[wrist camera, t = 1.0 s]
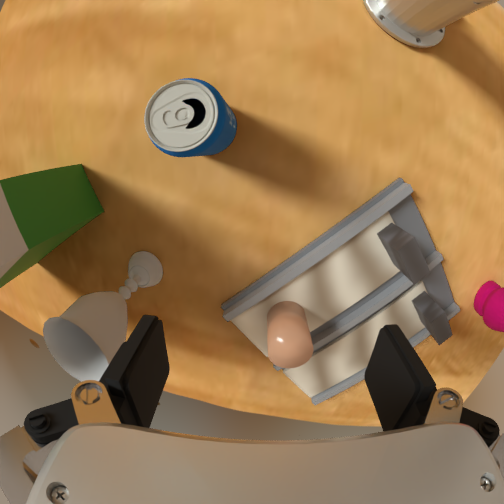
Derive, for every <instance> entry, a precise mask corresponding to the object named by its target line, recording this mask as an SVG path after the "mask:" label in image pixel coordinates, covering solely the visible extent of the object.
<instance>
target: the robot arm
mask: <svg viewBox="0 0 504 504" xmlns="http://www.w3.org/2000/svg"><path fill="white" fill-rule="evenodd" d="M363 1H364V4H365V7H366V9H367V11H368V12H369V14H370V15H371V17H372V18H373V19H374V20H375V22H376V23H377V24H378V25H379V26H380V27H381V28H382V29H383V30H384V31H386V32H387V33H388V34H389V35H391V36H392V37H394V38H395V39H397V40H399V41H400V42H403V43H405V44H407V45H410V46H413V47H417V48H429V47H432V46H435V45H436V44H438V43H439V42H440V41H441V40H442V39H443V37H444V34H445V26H447V25H449V24H451V23H453V22H455V21H457V20H459V19H461V18H463V17H465V16H467V15H469V14H471V13H473V12H475V11H477V10H479V9H481V8H483V7H486V6H488V5H490V4H492V3H495V2H497V1H499V0H363ZM168 375H169V362H168V356H167V350H166V344H165V338H164V331H163V324H162V321H161V320H158V317H157V316H151V315H143V317H142V318H141V320H140V321H139V323H138V324H137V326H136V328H135V329H134V331H133V332H132V334H131V335H130V337H129V339H128V340H127V342H123V343H122V345H121V346H120V348H119V349H118V351H117V352H116V354H115V356H114V357H113V359H112V360H111V362H110V364H109V365H108V367H107V369H106V370H105V372H104V373H103V375H102V377H101V378H100V380H99V381H96V380H85V381H82V382H80V383H78V384H77V385H76V386H75V387H74V388H73V390H72V393H71V396H72V398H71V399H68V400H65V401H62V402H59V403H56V404H53V405H50V406H46V407H43V408H40V409H36V410H34V411H32V412H30V413H29V414H28V415H27V417H26V418H25V421H24V426H23V427H20V426H19V425H18V426H16V427H15V428H13V429H12V430H10V431H8V432H7V433H5V434H4V435H2V436H0V487H1V489H2V491H3V492H4V494H5V496H6V497H7V499H8V501H9V502H10V504H504V434H502V435H499V427H498V425H497V423H496V422H495V421H494V420H492V419H491V418H488V417H486V416H483V415H481V414H478V413H476V412H473V411H471V410H468V409H466V408H464V407H463V399H462V397H461V395H460V394H459V393H458V392H457V391H455V390H453V389H451V388H440V389H438V390H437V389H436V387H435V386H436V383H435V382H434V380H433V378H432V377H431V375H430V374H429V372H428V370H427V369H426V367H425V366H424V364H423V362H422V361H421V359H420V358H419V356H418V354H417V353H416V351H415V350H414V348H413V347H412V345H411V344H410V342H409V341H408V339H407V338H406V336H405V335H404V333H403V332H402V330H401V329H400V327H399V326H398V325H397V324H390V325H384V327H383V328H381V329H380V331H379V334H378V337H377V340H376V343H375V346H374V349H373V352H372V354H371V357H370V360H369V363H368V365H367V368H366V371H365V375H364V378H365V382H366V384H367V387H368V390H369V392H370V395H371V398H372V400H373V403H374V406H375V409H376V411H377V414H378V417H379V420H380V423H381V425H382V428H383V431H384V432H378V433H372V434H365V435H358V436H350V437H341V438H330V439H316V440H291V441H267V440H266V441H265V440H240V439H225V438H214V437H204V436H196V435H189V434H182V433H175V432H168V431H162V430H157V429H151V428H149V427H150V424H151V422H152V419H153V416H154V413H155V410H156V407H157V405H158V402H159V399H160V396H161V394H162V391H163V388H164V385H165V383H166V380H167V377H168Z"/></svg>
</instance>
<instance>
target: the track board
mask: <svg viewBox="0 0 504 504" xmlns="http://www.w3.org/2000/svg"><path fill="white" fill-rule="evenodd" d="M412 192H413V189H412V187H411V185H410V184H407V183H404V181H403V179H402V178H398V179H397V180H396V181H394V182H393V183H392V184H390V185H389V186H388V187H386V188H385V189H384V190H382V191H381V192H380V193H378V194H377V195H375V196H374V197H373V198H371V199H370V200H369V201H367V202H366V203H365V204H363V205H362V206H361V207H359V208H358V209H357V210H355V211H354V212H352V213H351V214H350V215H348V216H347V217H346V218H344V219H343V220H341V221H340V222H339V223H337V224H336V225H335V226H333V227H332V228H330V229H329V230H328V231H326V232H325V233H323V234H322V235H321V236H319V237H318V238H317V239H315V240H314V241H312V242H311V243H310V244H308V245H307V246H305V247H304V248H302V249H301V250H300V251H298V252H297V253H295V254H294V255H293V256H291V257H290V258H288V259H287V260H285V261H284V262H283V263H281V264H280V265H278V266H277V267H275V268H274V269H273V270H271V271H270V272H268V273H267V274H265V275H264V276H262V277H261V278H260V279H258V280H257V281H255V282H254V283H252V284H251V285H249V286H248V287H246V288H245V289H244V290H242V291H241V292H239V293H238V294H236V295H235V296H233V297H232V298H230V299H229V300H227V301H226V302H224V303H223V304H222V305H221V308H222V309H223V310H224V313H223V318H224V319H225V320H226V321H227V322H229V321H230V320H232V319H233V318H235V317H236V316H238V315H240V314H241V313H243V312H244V311H246V310H247V309H249V308H250V307H252V306H253V305H255V304H257V303H258V302H260V301H261V300H263V299H264V298H266V297H267V296H269V295H270V294H272V293H273V292H275V291H276V290H278V289H279V288H281V287H282V286H284V285H285V284H287V283H288V282H290V281H291V280H293V279H294V278H295V277H297V276H298V275H300V274H301V273H303V272H304V271H306V270H307V269H309V268H310V267H311V266H313V265H314V264H316V263H317V262H319V261H320V260H321V259H323V258H324V257H326V256H327V255H329V254H330V253H331V252H333V251H334V250H336V249H337V248H338V247H340V246H341V245H343V244H344V243H345V242H347V241H348V240H350V239H351V238H352V237H354V236H355V235H356V234H358V233H359V232H360V231H362V230H363V229H365V228H366V227H367V226H369V225H370V224H371V223H373V222H374V221H375V220H377V219H378V218H379V217H381V216H382V215H383V214H385V213H386V212H387V211H388V212H389V214H390V216H391V217H392V219H393V221H394V223H395V225H397V226H398V227H400V228H401V229H403V230H404V231H406V232H408V233H409V234H411V235H412V236H414V237H415V238H416V240H417V243H418V245H419V247H420V249H421V251H422V254H423V256H424V258H425V261H426V263H427V265H428V268H429V270H430V273H429V274H428V275H426V276H425V277H424V278H423V279H421V280H420V281H422V282H423V283H424V286H425V288H426V291H427V293H428V295H429V296H430V297H431V298H432V299H433V300H434V301H435V302H436V303H437V304H438V305H439V306H440V307H441V308H442V309H443V310H444V311H445V313H446V316H447V319H448V321H449V320H450V319H451V318H452V317H453V316H455V315H456V314H457V313H458V312H459V311H460V308H459V306H458V305H457V304H456V303H455V302H454V299H453V296H452V293H451V290H450V287H449V284H448V281H447V278H446V275H445V273H444V270H443V267H442V264H441V261H442V260H444V259H443V257H442V254H441V253H439V252H438V251H436V249H435V247H434V244H433V242H432V240H431V237H430V235H429V233H428V230H427V228H426V226H425V224H424V221H423V219H422V217H421V215H420V213H419V211H418V209H417V207H416V205H415V203H414V201H413V199H412V197H411V195H410V194H411V193H412ZM417 283H418V282H417ZM417 283H416V284H417ZM413 286H414V284H413V283H412V282H411V281H410V280H409V279H408V278H407V277H406V276H405V275H404V274H403V273H402V272H401V271H399V272H398V273H397V274H395V275H394V276H393V277H391V278H390V279H389V280H387V281H386V282H385V283H383V284H382V285H380V286H379V287H378V288H376V289H375V290H373V291H372V292H371V293H369V294H368V295H366V296H365V297H363V298H362V299H361V300H359V301H358V302H356V303H355V304H353V305H352V306H350V307H349V308H347V309H346V310H344V311H343V312H341V313H340V314H338V315H337V316H335V317H334V318H332V319H330V320H329V321H327V322H326V323H324V324H323V325H321V326H319V327H318V328H316V329H315V330H313V331H311V332H310V335H311V339H312V344H313V353H314V352H316V351H318V350H319V349H321V348H323V347H324V346H326V345H328V344H329V343H331V342H333V341H334V340H336V339H337V338H339V337H341V336H342V335H344V334H345V333H347V332H349V331H350V330H352V329H353V328H355V327H356V326H358V325H359V324H361V323H362V322H364V321H365V320H367V319H368V318H370V317H371V316H373V315H374V314H376V313H377V312H379V311H380V310H381V309H383V308H384V307H386V306H387V305H389V304H390V303H391V302H393V301H394V300H395V299H397V298H398V297H400V296H401V295H402V294H404V293H405V292H406V291H408V290H409V289H410V288H412V287H413ZM430 335H431V334H430V333H429V331H428V330H427V329H426V328H423V329H422V330H421V331H419V332H418V333H417V334H415V335H414V336H412V337H411V338H410V339H408V341H409V342H410V344H411V345H412V347H415V346H416V345H417V344H419V343H420V342H421V341H423V340H424V339H426V338H427V337H428V336H430ZM273 367H274V368H275V369H276V370H277V371H278V370H280V369H283V370H284V369H285V368H281V367H278V366H276V365H275V364H273ZM366 368H367V367H366ZM366 368H364V369H362V370H361V371H359V372H357V373H355V374H354V375H352V376H350V377H348V378H347V379H345V380H343V381H341V382H340V383H338V384H336V385H334V386H332V387H330V388H328V389H327V390H325V391H323V392H321V393H319V394H317V395H315V396H313V397H311V399H312V403H313V404H314V405H316V404H319V403H321V402H323V401H325V400H327V399H329V398H331V397H332V396H334V395H336V394H338V393H340V392H342V391H344V390H346V389H347V388H349V387H351V386H353V385H355V384H356V383H358V382H360V381H362V380H363V379H365V378H364V375H365V371H366Z"/></svg>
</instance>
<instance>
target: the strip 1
mask: <svg viewBox="0 0 504 504" xmlns="http://www.w3.org/2000/svg"><path fill="white" fill-rule="evenodd" d="M399 271H401V272H402V273H403V274H404V275H405V276H406V277H407V278H408V279H409V280H410V281H411V282H412V283H413V284H414V285H415V284H416V283H417V282H419V281H420V280H421V279H423V278H424V277H425V276H426V275H428V274H429V273H430V270H429V268H428V265H427V263H426V261H425V258H424V256H423V254H422V251H421V249H420V247H419V245H418V243H417V240H416V238H415V237H414V236H412V235H411V234H409V233H408V232H406V231H404V230H403V229H401V228H400V227H398V226H397V225H395V223H394V221H393V219H392V217H391V216H390V214H389V212H388V211H387V212H386V213H385V214H383V215H382V216H381V217H379V218H378V219H377V220H375V221H374V222H373V223H371V224H370V225H369V226H367V227H366V228H365V229H363V230H362V231H360V232H359V233H358V234H356V235H355V236H354V237H352V238H351V239H350V240H348V241H347V242H345V243H344V244H343V245H341V246H340V247H338V248H337V249H336V250H334V251H333V252H331V253H330V254H329V255H327V256H326V257H324V258H323V259H321V260H320V261H319V262H317V263H316V264H314V265H313V266H311V267H310V268H309V269H307V270H306V271H304V272H303V273H301V274H300V275H298V276H297V277H295V278H294V279H293V280H291V281H290V282H288V283H287V284H285V285H284V286H282V287H281V288H279V289H278V290H276V291H275V292H273V293H272V294H270V295H269V296H267V297H266V298H264V299H263V300H261V301H260V302H258V303H257V304H255V305H253V306H252V307H250V308H249V309H247V310H246V311H244V312H243V313H241V314H240V315H238V316H236V317H235V318H233V319H232V320H231V321H232V323H233V324H234V325H235V326H236V327H237V328H238V329H239V330H240V331H241V332H242V333H243V334H244V335H245V336H246V337H247V338H248V339H249V340H250V341H251V342H252V343H253V344H254V345H255V346H256V347H257V348H258V349H259V350H260V351H261V352H262V353H263V354H264V355H265V356H266V357H268V346H267V314H268V311H269V310H270V308H271V307H272V306H274V305H275V304H277V303H279V302H282V301H292V302H296V303H298V304H299V305H300V306H301V307H302V308H303V309H304V311H305V315H306V319H307V323H308V327H309V331H310V332H311V331H313V330H315V329H316V328H318V327H319V326H321V325H323V324H324V323H326V322H327V321H329V320H330V319H332V318H334V317H335V316H337V315H338V314H340V313H341V312H343V311H344V310H346V309H347V308H349V307H350V306H352V305H353V304H355V303H356V302H358V301H359V300H361V299H362V298H363V297H365V296H366V295H368V294H369V293H371V292H372V291H373V290H375V289H376V288H378V287H379V286H380V285H382V284H383V283H385V282H386V281H387V280H389V279H390V278H391V277H393V276H394V275H395V274H397V273H398V272H399Z"/></svg>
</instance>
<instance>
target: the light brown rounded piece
mask: <svg viewBox="0 0 504 504" xmlns="http://www.w3.org/2000/svg"><path fill="white" fill-rule="evenodd" d="M267 346H268V357H269V359H270V361H271V362H272V363H273V364H275V365H276V366H278V367H281V368H296V367H299V366H301V365H303V364H305V363H306V362H307V361H309V359H310V358H311V357H312V354H313V344H312V339H311V335H310V331H309V327H308V323H307V319H306V315H305V311H304V309H303V308H302V307H301V306H300V305H299V304H298V303H296V302H292V301H282V302H279V303H277V304H275V305H274V306H272V307H271V308H270V310H269V311H268V314H267Z"/></svg>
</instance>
